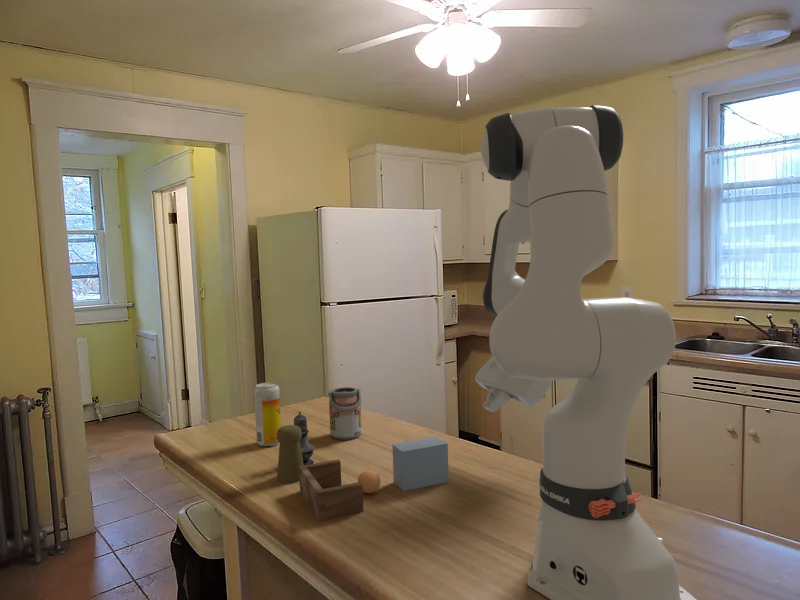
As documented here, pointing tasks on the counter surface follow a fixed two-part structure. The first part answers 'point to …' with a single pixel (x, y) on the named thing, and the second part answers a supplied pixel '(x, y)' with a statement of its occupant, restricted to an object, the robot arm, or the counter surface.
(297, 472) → the olive pawn
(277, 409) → the beer can
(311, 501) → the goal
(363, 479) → the ball
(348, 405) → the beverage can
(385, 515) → the counter surface
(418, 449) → the block
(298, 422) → the grey chess bishop
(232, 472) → the counter surface
